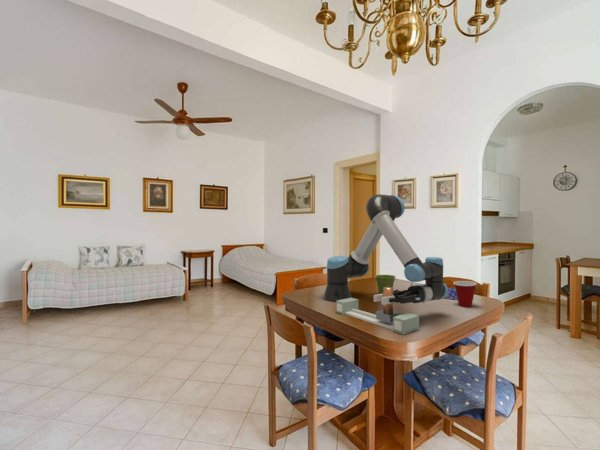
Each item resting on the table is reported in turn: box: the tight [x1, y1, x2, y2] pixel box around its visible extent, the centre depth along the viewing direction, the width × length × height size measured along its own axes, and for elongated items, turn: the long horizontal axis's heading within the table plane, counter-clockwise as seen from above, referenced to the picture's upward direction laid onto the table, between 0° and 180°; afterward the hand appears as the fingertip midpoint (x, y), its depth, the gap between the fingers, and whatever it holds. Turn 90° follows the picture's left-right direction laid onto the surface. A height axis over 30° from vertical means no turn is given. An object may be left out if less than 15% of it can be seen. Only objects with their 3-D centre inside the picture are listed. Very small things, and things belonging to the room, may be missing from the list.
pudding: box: [444, 287, 458, 300], centre depth 176 cm, size 12×12×5 cm
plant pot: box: [374, 274, 396, 294], centre depth 181 cm, size 12×12×11 cm
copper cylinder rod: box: [375, 287, 401, 323], centre depth 128 cm, size 7×7×13 cm
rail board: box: [335, 297, 420, 336], centre depth 134 cm, size 37×10×6 cm, turn 37°
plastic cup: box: [452, 280, 478, 308], centre depth 158 cm, size 11×11×12 cm
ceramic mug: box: [410, 282, 423, 286], centre depth 180 cm, size 11×8×8 cm
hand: (378, 299), depth 126 cm, fingers closed on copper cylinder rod, 4 cm apart
